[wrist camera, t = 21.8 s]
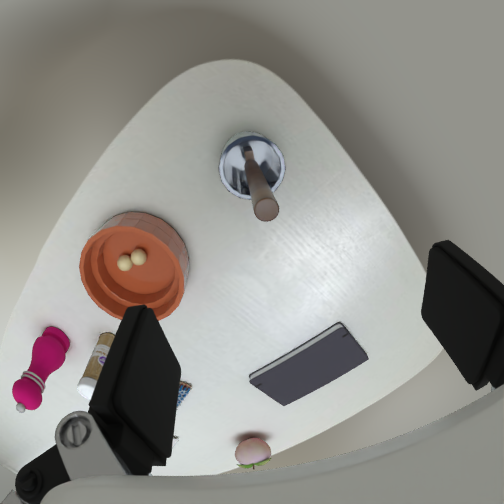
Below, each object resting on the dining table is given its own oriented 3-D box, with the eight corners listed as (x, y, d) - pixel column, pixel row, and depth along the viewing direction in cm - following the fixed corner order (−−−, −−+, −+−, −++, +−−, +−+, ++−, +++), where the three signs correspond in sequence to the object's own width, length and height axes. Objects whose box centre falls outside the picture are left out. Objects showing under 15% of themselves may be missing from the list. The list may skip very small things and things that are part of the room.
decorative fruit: (256, 426, 66) (259, 459, 57) (273, 436, 69) (277, 467, 60) (226, 437, 68) (227, 469, 59) (245, 446, 71) (247, 476, 62)
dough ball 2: (132, 257, 43) (138, 244, 42) (145, 265, 43) (151, 252, 42) (125, 261, 41) (131, 247, 40) (139, 270, 41) (145, 256, 40)
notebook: (282, 401, 61) (366, 353, 56) (283, 406, 60) (369, 359, 55) (247, 375, 56) (340, 320, 51) (247, 381, 55) (342, 326, 50)
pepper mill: (38, 330, 49) (-3, 400, 31) (54, 319, 48) (10, 394, 30) (60, 354, 52) (27, 425, 34) (78, 344, 51) (43, 422, 33)
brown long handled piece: (240, 147, 37) (249, 185, 18) (252, 145, 37) (275, 180, 18) (245, 173, 39) (258, 238, 20) (257, 171, 38) (282, 233, 20)
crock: (216, 137, 37) (212, 143, 30) (269, 126, 36) (279, 130, 29) (227, 187, 40) (227, 205, 33) (279, 177, 40) (289, 192, 32)
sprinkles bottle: (123, 337, 50) (103, 392, 38) (119, 352, 52) (101, 406, 40) (100, 328, 49) (76, 381, 37) (98, 343, 51) (76, 395, 39)
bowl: (81, 224, 40) (63, 241, 35) (172, 199, 40) (163, 213, 35) (117, 306, 47) (106, 329, 42) (201, 291, 47) (198, 315, 41)
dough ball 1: (125, 264, 40) (127, 250, 41) (113, 268, 40) (115, 254, 42) (135, 271, 42) (136, 258, 43) (122, 275, 42) (124, 261, 44)
